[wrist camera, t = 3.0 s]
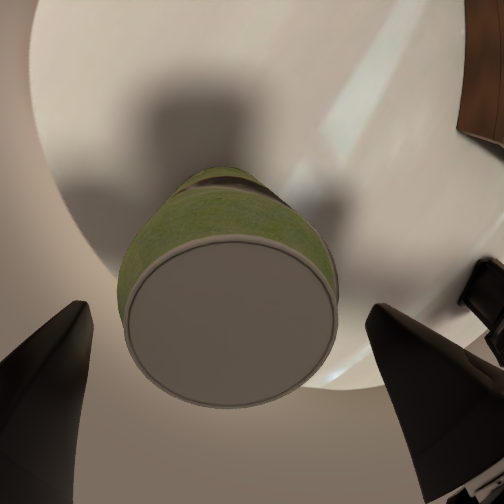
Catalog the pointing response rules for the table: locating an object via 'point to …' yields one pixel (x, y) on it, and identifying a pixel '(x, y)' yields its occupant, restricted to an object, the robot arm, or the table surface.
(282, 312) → the beverage can
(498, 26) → the wooden riser stand
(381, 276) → the table surface
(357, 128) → the table surface
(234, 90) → the table surface
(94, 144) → the table surface
